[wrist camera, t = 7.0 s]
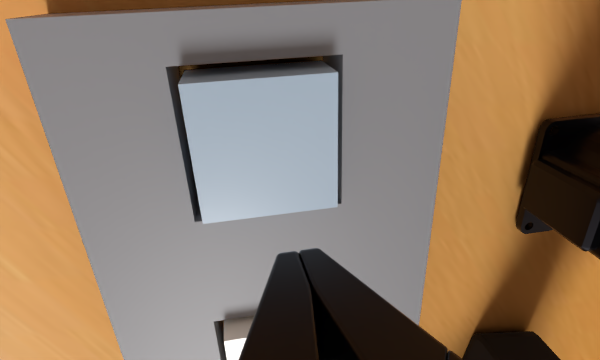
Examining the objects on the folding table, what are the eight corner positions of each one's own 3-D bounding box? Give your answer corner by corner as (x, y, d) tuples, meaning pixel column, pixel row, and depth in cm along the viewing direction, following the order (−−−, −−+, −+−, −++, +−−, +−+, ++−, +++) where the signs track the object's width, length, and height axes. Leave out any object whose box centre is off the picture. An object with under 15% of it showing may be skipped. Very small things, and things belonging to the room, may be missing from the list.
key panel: (421, -5, 16) (462, -4, 13) (390, 346, 24) (410, 389, 22) (47, 13, 14) (5, 19, 11) (160, 387, 23) (152, 441, 20)
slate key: (321, 60, 15) (338, 72, 12) (323, 179, 17) (337, 206, 15) (184, 69, 14) (178, 84, 12) (205, 193, 16) (202, 223, 14)
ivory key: (324, 286, 19) (336, 322, 17) (325, 355, 22) (336, 395, 20) (223, 301, 19) (223, 341, 17) (235, 371, 21) (236, 414, 19)
